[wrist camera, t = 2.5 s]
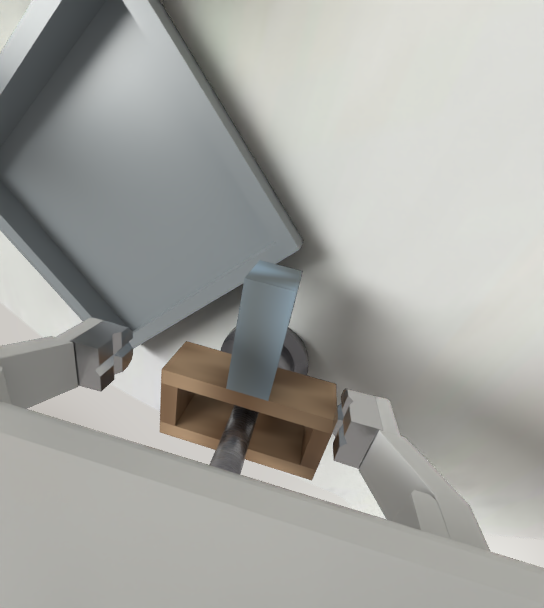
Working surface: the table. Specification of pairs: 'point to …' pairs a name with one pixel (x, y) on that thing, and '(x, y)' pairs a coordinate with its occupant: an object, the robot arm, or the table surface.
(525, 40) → the table surface
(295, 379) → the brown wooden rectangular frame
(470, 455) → the table surface
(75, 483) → the robot arm
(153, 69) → the tray
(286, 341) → the plunger
